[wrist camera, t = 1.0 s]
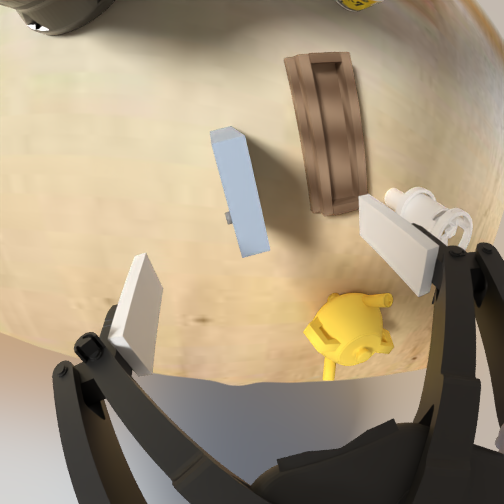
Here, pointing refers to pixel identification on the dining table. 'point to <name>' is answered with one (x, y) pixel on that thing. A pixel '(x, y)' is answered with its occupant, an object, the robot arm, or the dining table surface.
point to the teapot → (350, 330)
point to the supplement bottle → (357, 4)
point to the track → (329, 129)
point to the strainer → (430, 214)
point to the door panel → (240, 190)
